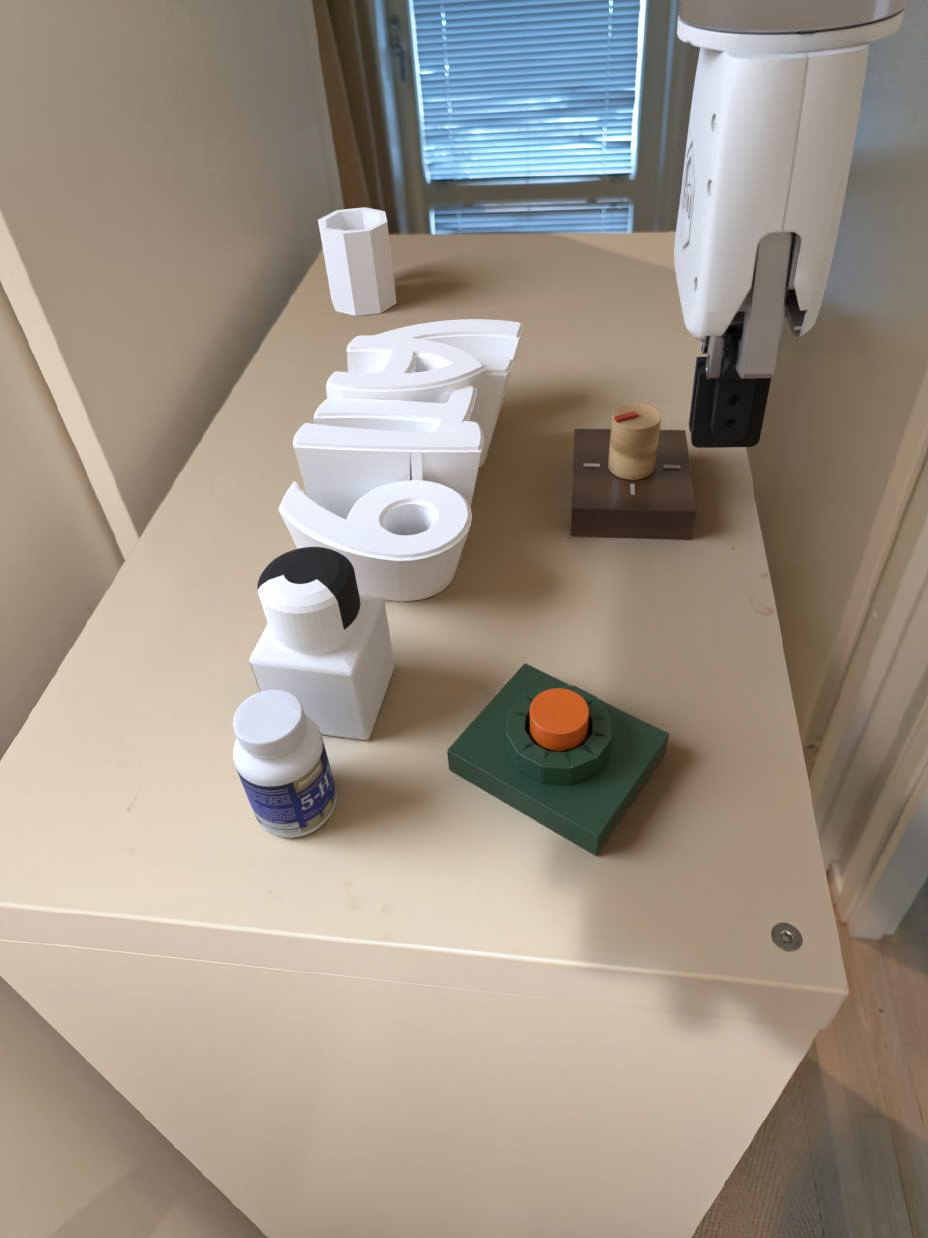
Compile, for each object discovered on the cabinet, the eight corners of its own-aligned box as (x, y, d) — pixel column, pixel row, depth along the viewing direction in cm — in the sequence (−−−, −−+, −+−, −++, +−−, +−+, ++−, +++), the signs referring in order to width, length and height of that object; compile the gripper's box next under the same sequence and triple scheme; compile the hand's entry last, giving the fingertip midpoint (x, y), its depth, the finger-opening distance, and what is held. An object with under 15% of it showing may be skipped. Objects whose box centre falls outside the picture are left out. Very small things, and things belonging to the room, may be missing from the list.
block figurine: (305, 654, 63) (270, 529, 55) (396, 665, 62) (375, 538, 54) (270, 729, 58) (227, 604, 50) (369, 743, 57) (341, 616, 49)
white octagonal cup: (387, 317, 103) (377, 234, 96) (321, 314, 105) (306, 232, 98) (413, 276, 111) (405, 196, 104) (351, 273, 113) (339, 195, 106)
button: (598, 721, 53) (600, 704, 52) (568, 761, 51) (569, 743, 50) (549, 697, 55) (550, 679, 53) (518, 734, 53) (518, 716, 51)
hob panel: (691, 539, 70) (696, 509, 68) (570, 536, 72) (571, 506, 69) (681, 457, 79) (685, 428, 77) (573, 455, 80) (574, 426, 78)
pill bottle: (324, 845, 52) (296, 759, 46) (243, 834, 53) (205, 748, 46) (347, 773, 55) (325, 685, 49) (272, 764, 56) (240, 676, 50)
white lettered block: (387, 389, 90) (375, 293, 83) (540, 401, 87) (541, 301, 80) (257, 616, 67) (224, 509, 59) (461, 644, 63) (452, 534, 56)
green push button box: (665, 754, 55) (673, 715, 52) (596, 856, 50) (599, 820, 47) (524, 683, 60) (524, 644, 57) (448, 770, 55) (444, 732, 52)
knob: (640, 448, 75) (646, 395, 71) (663, 472, 72) (671, 418, 68) (599, 460, 74) (603, 406, 70) (622, 484, 71) (627, 430, 67)
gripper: (666, -46, 35) (638, 365, 48) (700, 34, 24) (653, 534, 37) (858, -63, 34) (777, 362, 47) (981, 13, 23) (832, 534, 36)
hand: (722, 437), depth 42 cm, fingers closed
